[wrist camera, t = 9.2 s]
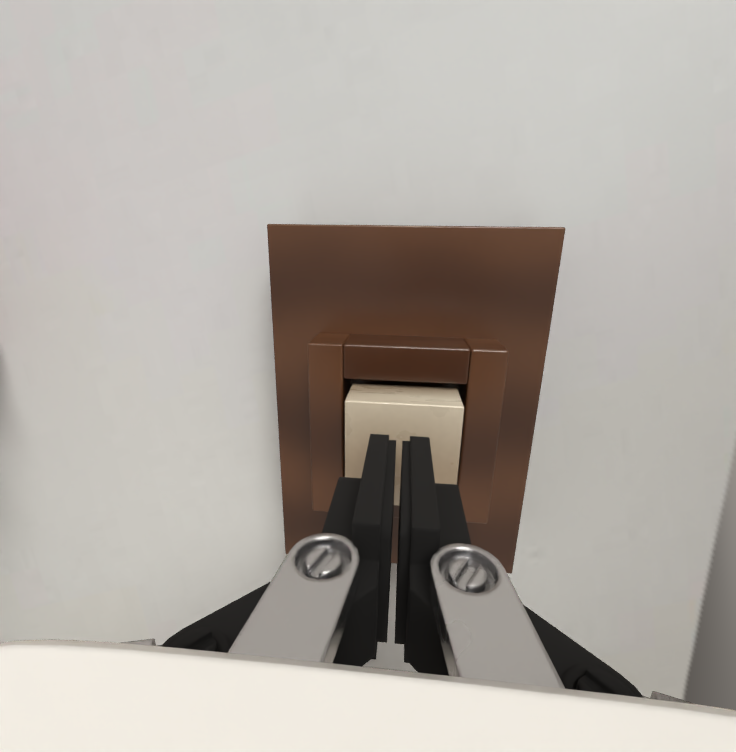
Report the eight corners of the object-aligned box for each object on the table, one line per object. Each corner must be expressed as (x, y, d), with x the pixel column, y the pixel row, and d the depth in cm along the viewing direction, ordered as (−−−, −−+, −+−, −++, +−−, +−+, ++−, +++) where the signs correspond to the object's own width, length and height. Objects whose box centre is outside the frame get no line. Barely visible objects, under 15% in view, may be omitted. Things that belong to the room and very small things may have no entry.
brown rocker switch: (288, 228, 16) (246, 219, 12) (539, 231, 15) (590, 223, 11) (300, 516, 20) (272, 586, 16) (498, 531, 20) (523, 609, 15)
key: (352, 382, 14) (344, 400, 12) (457, 387, 13) (464, 406, 12) (351, 474, 15) (344, 502, 13) (449, 480, 14) (454, 510, 13)
